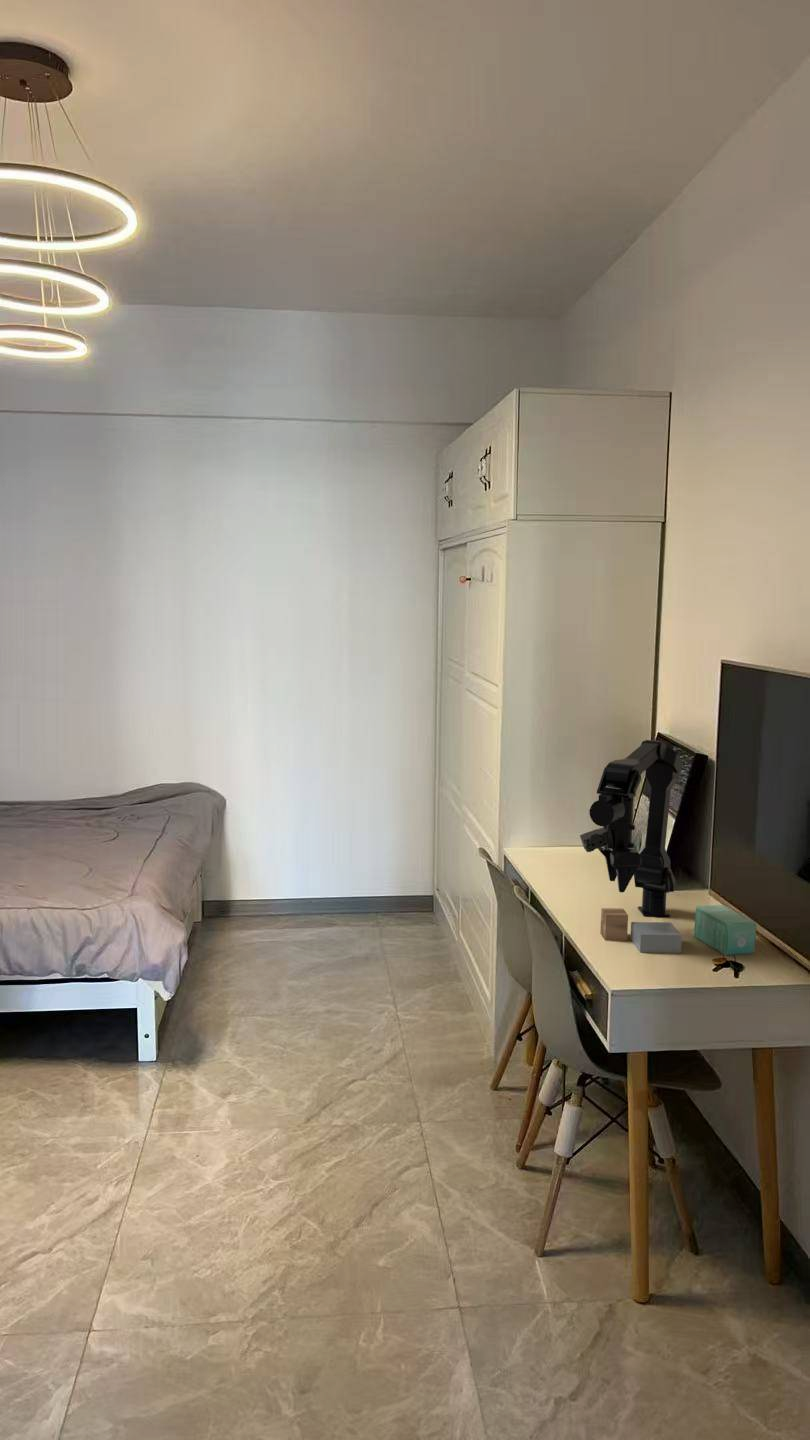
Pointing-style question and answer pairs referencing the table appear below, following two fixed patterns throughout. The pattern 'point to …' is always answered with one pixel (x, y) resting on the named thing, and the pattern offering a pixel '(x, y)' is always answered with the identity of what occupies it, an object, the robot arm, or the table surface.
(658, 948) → the base
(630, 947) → the table surface
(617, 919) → the block
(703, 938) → the box
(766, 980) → the table surface
